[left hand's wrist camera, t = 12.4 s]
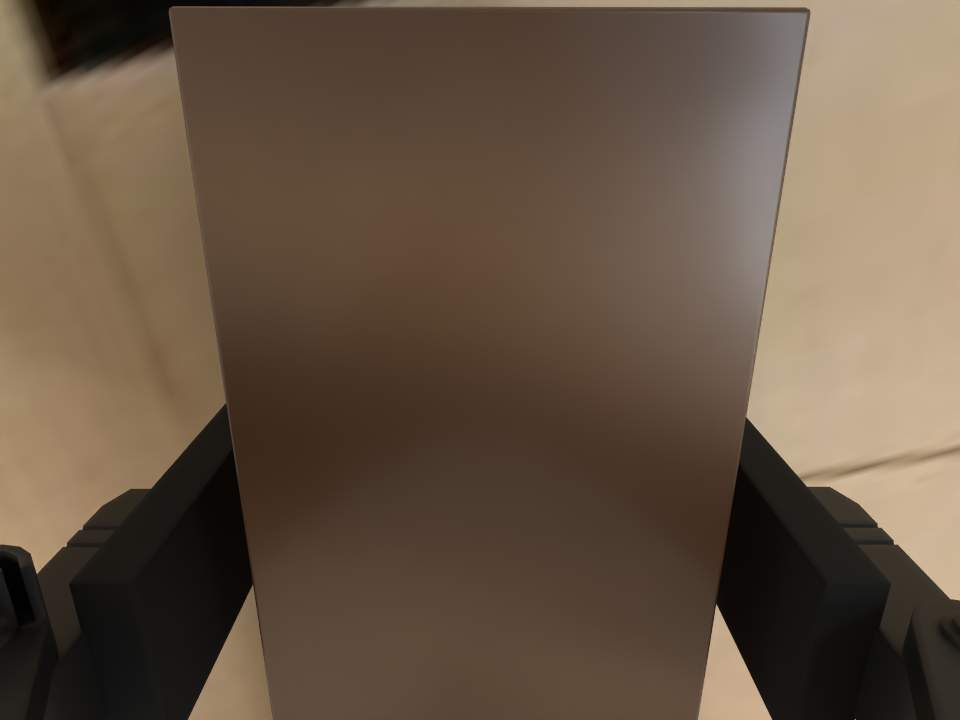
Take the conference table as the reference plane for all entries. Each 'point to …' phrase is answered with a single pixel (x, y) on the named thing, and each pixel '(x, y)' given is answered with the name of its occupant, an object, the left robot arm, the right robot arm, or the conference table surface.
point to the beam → (487, 339)
